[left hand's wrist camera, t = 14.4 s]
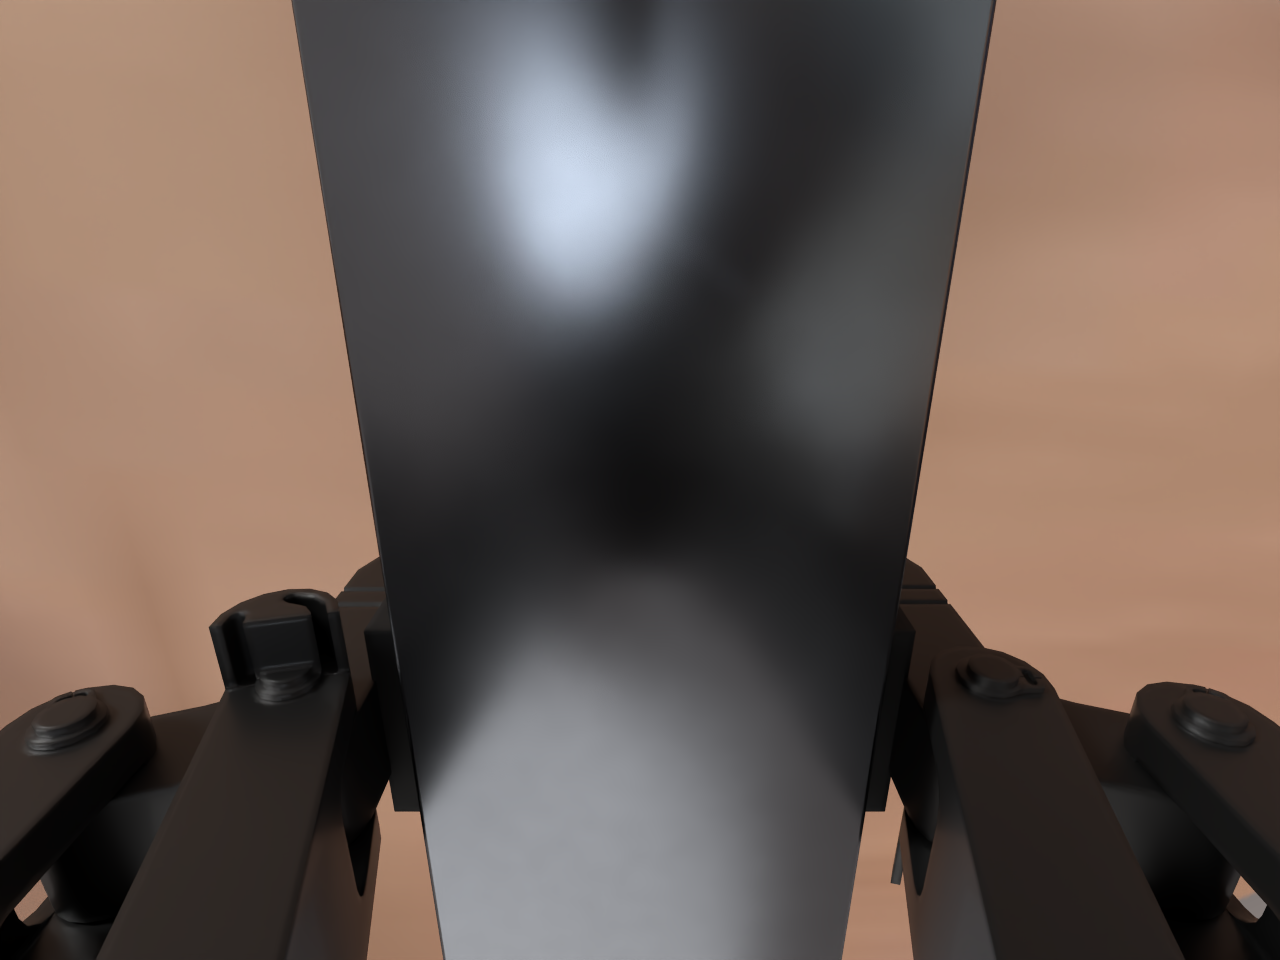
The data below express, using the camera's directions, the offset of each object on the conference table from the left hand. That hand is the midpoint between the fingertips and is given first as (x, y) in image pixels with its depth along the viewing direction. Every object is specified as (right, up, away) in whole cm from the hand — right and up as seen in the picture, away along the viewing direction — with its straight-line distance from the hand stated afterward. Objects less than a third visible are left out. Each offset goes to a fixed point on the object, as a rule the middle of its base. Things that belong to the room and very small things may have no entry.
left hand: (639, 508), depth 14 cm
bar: (0, +8, -2) cm, 8 cm away
